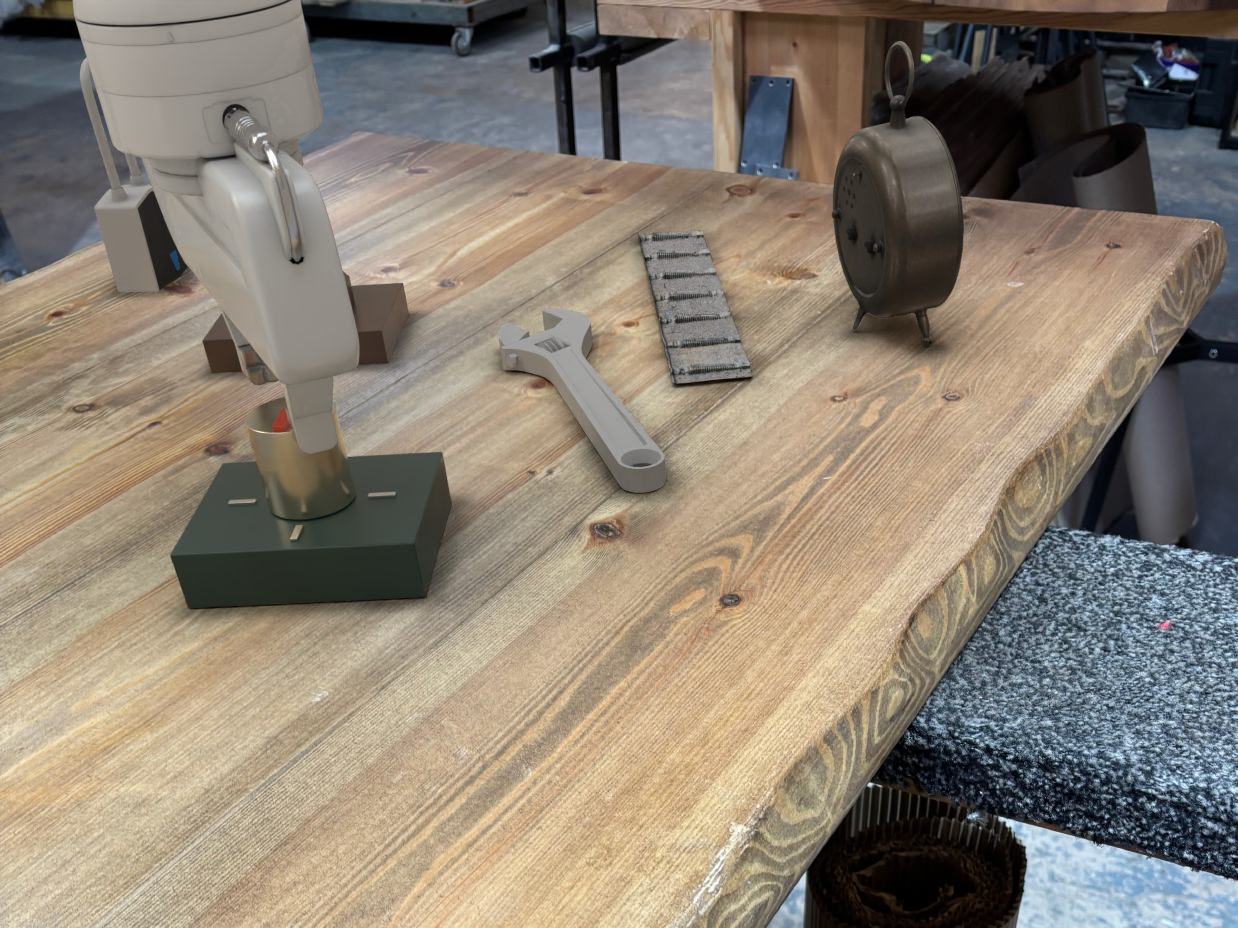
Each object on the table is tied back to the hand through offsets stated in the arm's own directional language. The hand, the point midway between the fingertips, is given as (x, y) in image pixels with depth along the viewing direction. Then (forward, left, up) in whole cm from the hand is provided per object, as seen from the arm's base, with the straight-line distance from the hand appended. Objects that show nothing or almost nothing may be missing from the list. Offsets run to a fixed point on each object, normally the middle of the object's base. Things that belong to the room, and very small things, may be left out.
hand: (289, 410), depth 65 cm
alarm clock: (+32, +27, -8) cm, 43 cm away
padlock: (-23, +46, -8) cm, 52 cm away
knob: (0, 0, -5) cm, 5 cm away
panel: (0, 0, -8) cm, 8 cm away
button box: (-7, +30, -8) cm, 31 cm away
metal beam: (+19, +34, -8) cm, 40 cm away
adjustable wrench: (+12, +17, -8) cm, 22 cm away
